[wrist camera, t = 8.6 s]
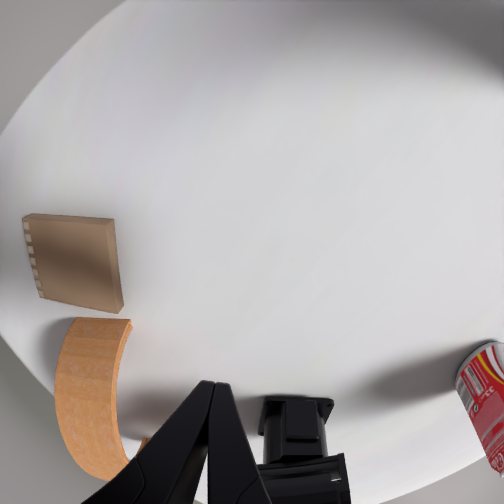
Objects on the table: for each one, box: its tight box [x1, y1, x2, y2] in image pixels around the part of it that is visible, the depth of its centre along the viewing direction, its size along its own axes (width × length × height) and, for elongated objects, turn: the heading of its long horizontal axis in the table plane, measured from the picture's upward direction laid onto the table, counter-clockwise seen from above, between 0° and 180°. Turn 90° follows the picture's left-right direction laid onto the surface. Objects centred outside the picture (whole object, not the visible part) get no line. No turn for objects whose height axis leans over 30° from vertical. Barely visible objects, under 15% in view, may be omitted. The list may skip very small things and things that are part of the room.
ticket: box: [23, 214, 124, 314], centre depth 20 cm, size 7×8×1 cm
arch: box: [54, 317, 150, 481], centre depth 23 cm, size 6×20×10 cm, turn 5°
